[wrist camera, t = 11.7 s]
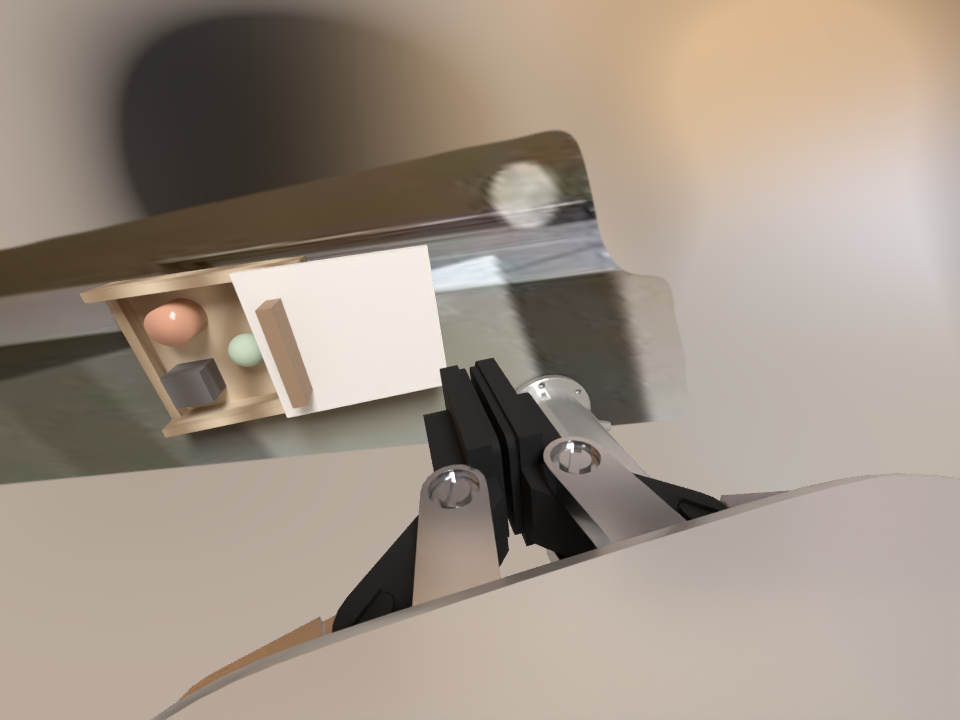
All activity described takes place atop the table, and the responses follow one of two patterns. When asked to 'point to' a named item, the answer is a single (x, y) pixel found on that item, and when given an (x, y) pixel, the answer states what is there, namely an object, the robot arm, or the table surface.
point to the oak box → (196, 342)
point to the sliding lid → (345, 327)
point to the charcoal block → (193, 383)
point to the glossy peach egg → (175, 322)
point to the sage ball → (245, 350)
